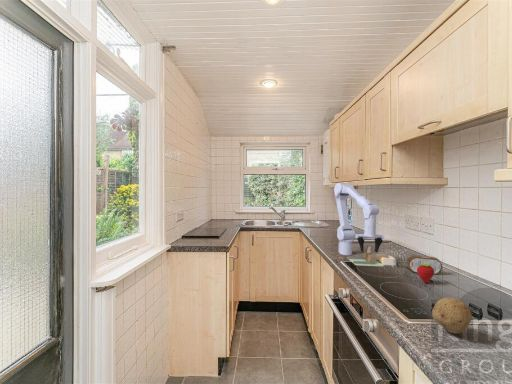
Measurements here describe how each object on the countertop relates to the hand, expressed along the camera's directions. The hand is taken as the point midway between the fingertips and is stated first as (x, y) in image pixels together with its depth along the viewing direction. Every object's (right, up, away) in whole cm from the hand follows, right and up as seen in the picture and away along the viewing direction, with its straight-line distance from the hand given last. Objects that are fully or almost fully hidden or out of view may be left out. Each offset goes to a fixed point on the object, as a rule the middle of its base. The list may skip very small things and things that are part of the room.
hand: (369, 251), depth 149 cm
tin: (+22, -8, -14) cm, 27 cm away
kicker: (0, -6, 0) cm, 6 cm away
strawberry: (+13, -8, -28) cm, 32 cm away
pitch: (+1, -7, 0) cm, 7 cm away
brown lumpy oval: (-6, -8, -71) cm, 71 cm away
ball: (+8, -5, 0) cm, 9 cm away
